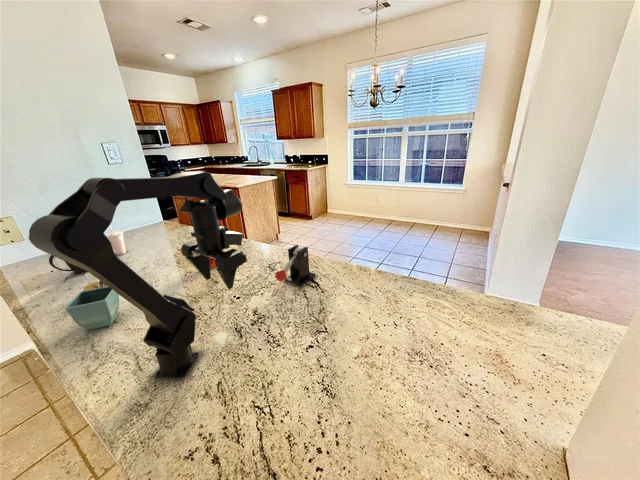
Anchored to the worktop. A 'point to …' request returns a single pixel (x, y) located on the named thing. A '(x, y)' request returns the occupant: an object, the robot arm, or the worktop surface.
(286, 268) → the tap lever
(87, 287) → the cake
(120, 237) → the smoothie
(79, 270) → the mug
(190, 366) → the robot arm
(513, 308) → the worktop surface
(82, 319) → the flower pot
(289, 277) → the tap bracket
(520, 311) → the worktop surface
